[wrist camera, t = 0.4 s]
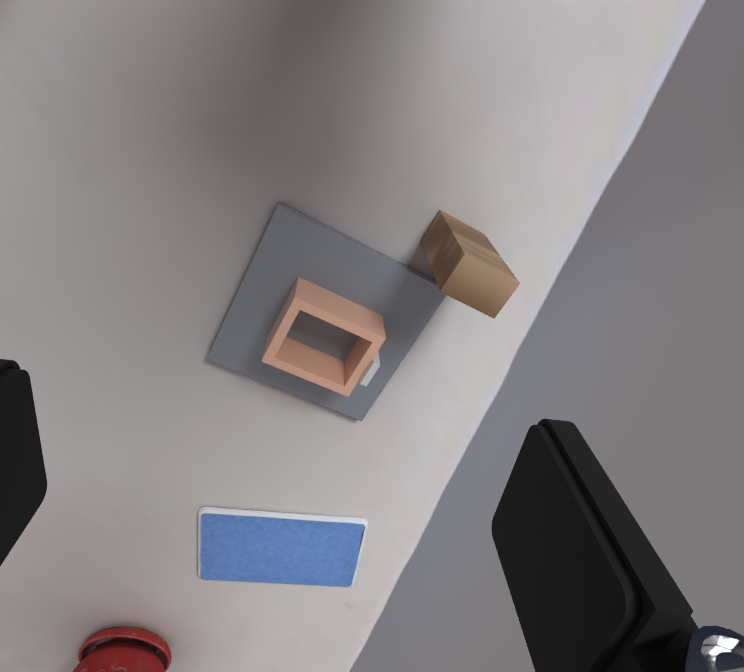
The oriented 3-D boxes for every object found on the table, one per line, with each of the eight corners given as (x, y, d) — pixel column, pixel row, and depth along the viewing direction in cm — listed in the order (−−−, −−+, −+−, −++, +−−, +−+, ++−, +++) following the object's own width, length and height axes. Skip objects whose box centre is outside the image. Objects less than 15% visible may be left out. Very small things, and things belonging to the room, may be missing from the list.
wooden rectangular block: (439, 209, 42) (464, 254, 33) (484, 234, 43) (519, 283, 35) (420, 241, 43) (439, 291, 35) (464, 264, 45) (494, 318, 36)
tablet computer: (369, 514, 60) (370, 523, 59) (353, 581, 66) (353, 591, 65) (200, 500, 58) (197, 510, 57) (199, 572, 64) (196, 581, 63)
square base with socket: (278, 201, 41) (270, 224, 36) (446, 286, 46) (459, 316, 41) (208, 353, 48) (193, 390, 43) (361, 414, 52) (363, 454, 47)
